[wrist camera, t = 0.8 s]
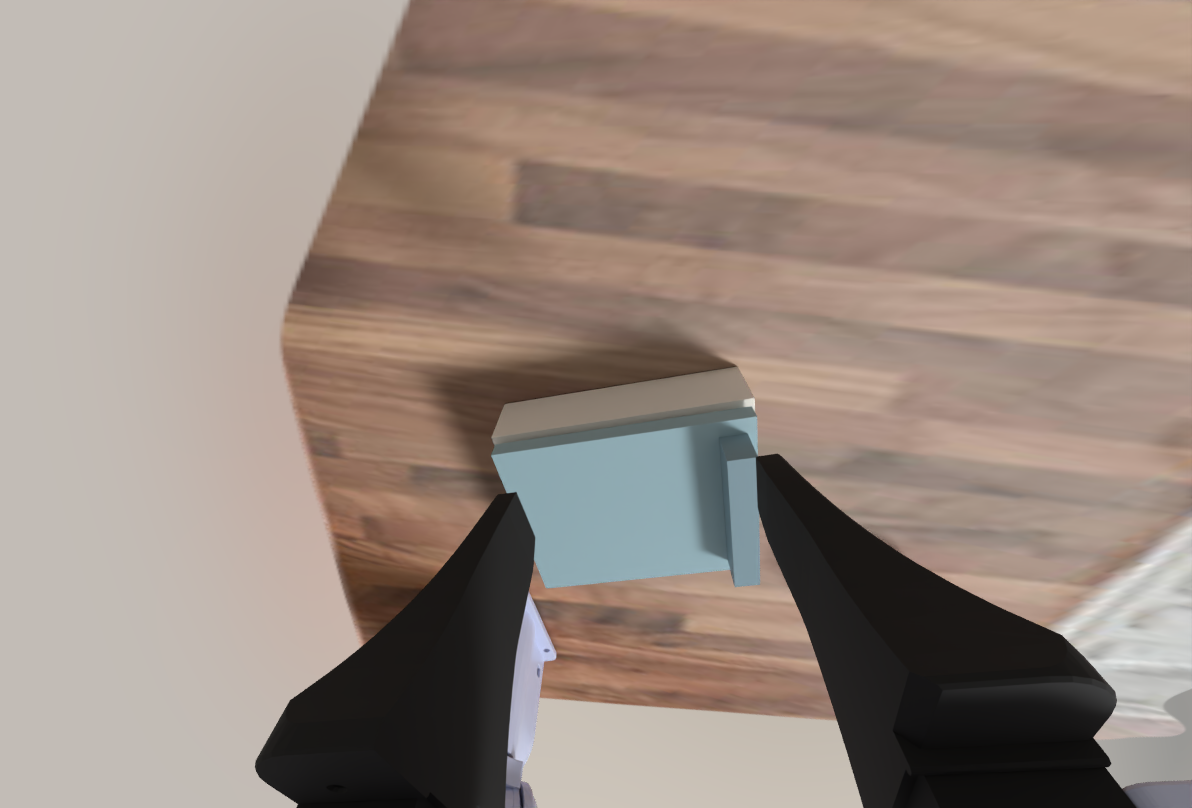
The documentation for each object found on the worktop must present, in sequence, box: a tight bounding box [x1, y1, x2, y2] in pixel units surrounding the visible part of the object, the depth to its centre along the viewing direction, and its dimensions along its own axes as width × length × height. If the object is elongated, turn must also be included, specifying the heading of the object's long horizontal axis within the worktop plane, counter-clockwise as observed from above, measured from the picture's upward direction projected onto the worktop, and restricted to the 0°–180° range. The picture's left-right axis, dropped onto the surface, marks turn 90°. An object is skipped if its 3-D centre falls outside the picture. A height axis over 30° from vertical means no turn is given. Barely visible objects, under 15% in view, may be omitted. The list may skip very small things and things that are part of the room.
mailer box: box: [491, 366, 755, 446], centre depth 24 cm, size 10×12×3 cm
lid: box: [491, 406, 760, 588], centre depth 21 cm, size 10×12×2 cm
